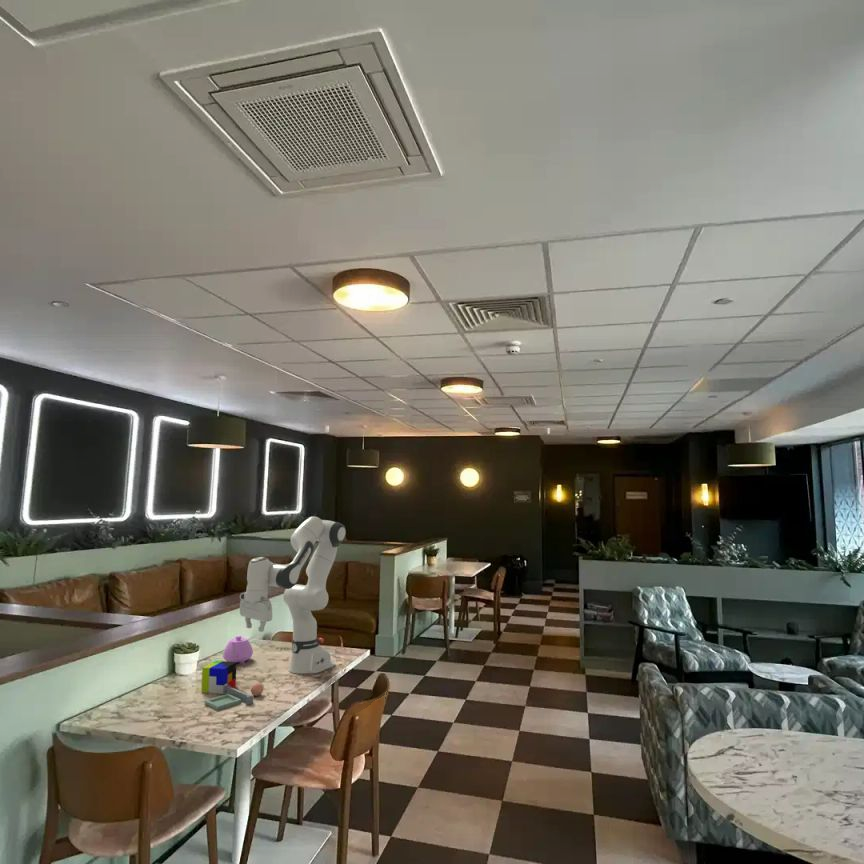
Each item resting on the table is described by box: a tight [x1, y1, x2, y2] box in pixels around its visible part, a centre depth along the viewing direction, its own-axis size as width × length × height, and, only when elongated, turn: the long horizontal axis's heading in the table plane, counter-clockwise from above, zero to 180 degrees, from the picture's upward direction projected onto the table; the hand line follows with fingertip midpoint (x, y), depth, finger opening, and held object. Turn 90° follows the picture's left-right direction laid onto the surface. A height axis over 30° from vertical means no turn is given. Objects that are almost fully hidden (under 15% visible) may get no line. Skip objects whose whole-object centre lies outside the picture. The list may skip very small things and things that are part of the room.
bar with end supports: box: [223, 685, 254, 706], centre depth 229 cm, size 2×19×3 cm, turn 49°
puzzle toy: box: [201, 660, 238, 695], centre depth 242 cm, size 10×10×10 cm
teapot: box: [222, 635, 254, 665], centre depth 281 cm, size 20×14×12 cm
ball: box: [250, 682, 264, 697], centre depth 233 cm, size 5×5×5 cm
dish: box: [204, 694, 242, 711], centre depth 223 cm, size 10×10×2 cm
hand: (254, 629), depth 238 cm, fingers open, 8 cm apart
